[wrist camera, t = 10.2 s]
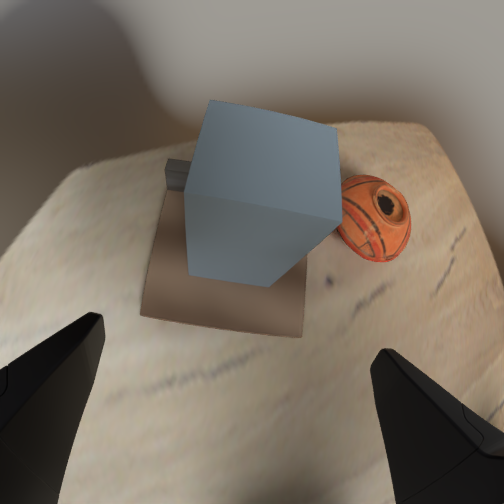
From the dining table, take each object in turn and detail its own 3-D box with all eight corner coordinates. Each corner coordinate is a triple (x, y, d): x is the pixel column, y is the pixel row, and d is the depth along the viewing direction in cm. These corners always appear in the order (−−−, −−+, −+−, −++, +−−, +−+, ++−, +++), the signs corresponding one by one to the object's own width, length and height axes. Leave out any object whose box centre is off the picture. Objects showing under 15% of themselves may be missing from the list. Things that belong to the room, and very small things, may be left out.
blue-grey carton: (268, 287, 22) (342, 222, 11) (188, 275, 21) (183, 192, 10) (274, 224, 24) (336, 124, 13) (200, 211, 23) (210, 96, 12)
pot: (328, 175, 28) (375, 142, 22) (380, 222, 29) (430, 202, 23) (298, 238, 24) (353, 211, 18) (360, 287, 26) (418, 275, 20)
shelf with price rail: (297, 338, 22) (317, 335, 19) (142, 316, 21) (131, 308, 17) (305, 207, 26) (322, 185, 22) (171, 183, 24) (168, 156, 21)
